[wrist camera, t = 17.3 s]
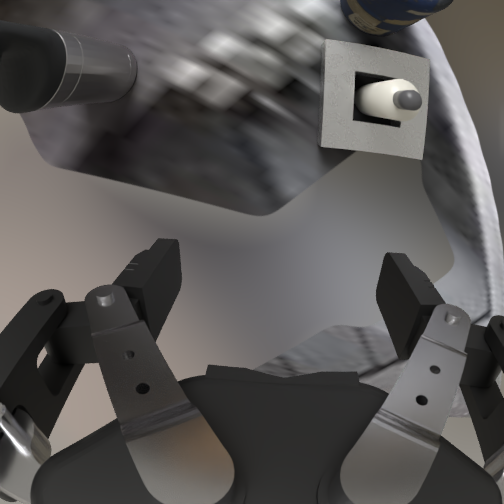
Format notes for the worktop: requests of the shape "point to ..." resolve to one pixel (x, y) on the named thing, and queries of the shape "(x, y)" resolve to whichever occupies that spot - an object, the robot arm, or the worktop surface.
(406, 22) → the canister
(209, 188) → the worktop surface
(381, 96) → the capped white bottle
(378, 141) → the grey square socket block
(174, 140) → the worktop surface
